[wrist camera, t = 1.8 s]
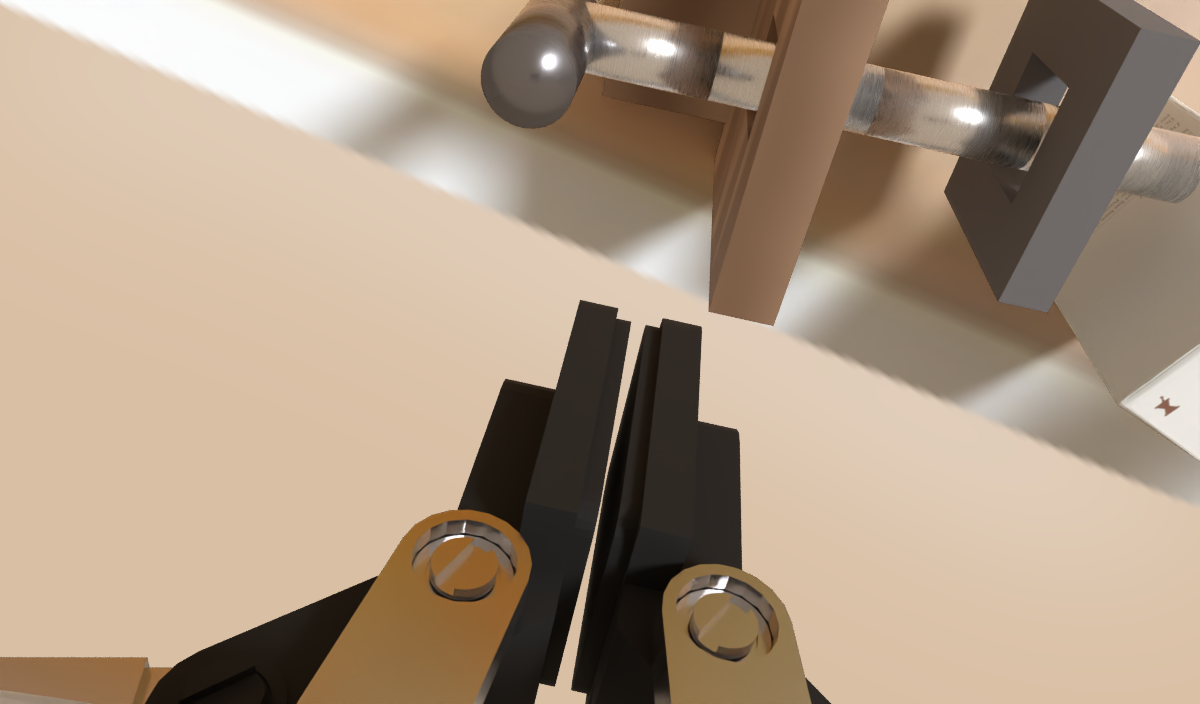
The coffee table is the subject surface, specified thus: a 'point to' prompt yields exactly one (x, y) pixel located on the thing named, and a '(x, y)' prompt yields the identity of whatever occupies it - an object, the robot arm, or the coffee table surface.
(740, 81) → the shaft
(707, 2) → the bracket
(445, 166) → the coffee table surface
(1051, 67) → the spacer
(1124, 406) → the supplement box
